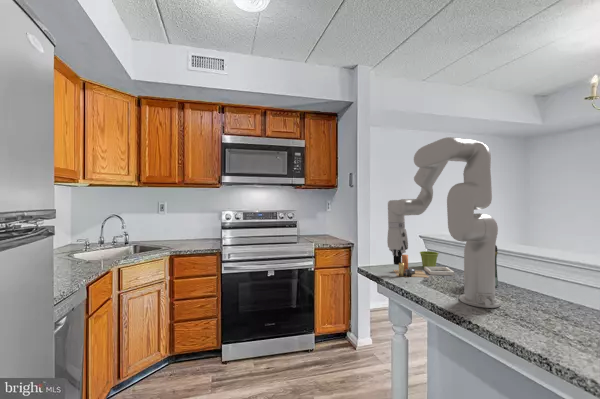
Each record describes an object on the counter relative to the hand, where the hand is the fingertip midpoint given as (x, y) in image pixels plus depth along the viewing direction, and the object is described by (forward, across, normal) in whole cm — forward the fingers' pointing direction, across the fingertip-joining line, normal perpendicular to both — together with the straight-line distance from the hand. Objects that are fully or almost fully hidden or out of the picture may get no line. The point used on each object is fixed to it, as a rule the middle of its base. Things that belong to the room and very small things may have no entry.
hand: (397, 264), depth 144 cm
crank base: (+6, 0, -7) cm, 10 cm away
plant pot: (+6, +8, -26) cm, 28 cm away
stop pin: (+5, +5, -9) cm, 11 cm away
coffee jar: (+7, -25, -26) cm, 36 cm away
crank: (+5, -1, -4) cm, 6 cm away
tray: (+6, -3, -22) cm, 23 cm away
